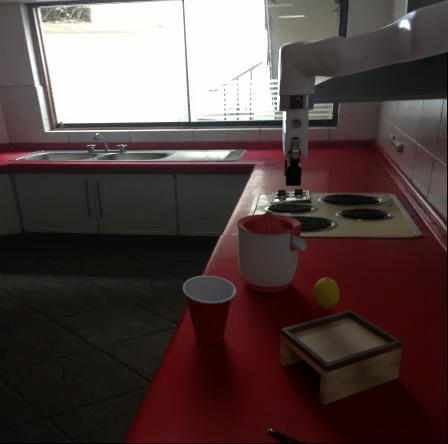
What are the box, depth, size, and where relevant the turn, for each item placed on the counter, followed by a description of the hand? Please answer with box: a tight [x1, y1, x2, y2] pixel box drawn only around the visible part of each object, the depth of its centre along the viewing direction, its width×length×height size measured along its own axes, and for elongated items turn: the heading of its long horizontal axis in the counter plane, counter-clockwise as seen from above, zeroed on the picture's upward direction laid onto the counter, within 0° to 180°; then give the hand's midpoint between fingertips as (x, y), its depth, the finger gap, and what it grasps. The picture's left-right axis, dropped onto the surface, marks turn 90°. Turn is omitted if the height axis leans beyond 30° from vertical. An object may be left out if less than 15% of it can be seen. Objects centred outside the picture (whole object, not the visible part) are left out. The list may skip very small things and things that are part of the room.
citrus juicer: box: [236, 210, 307, 294], centre depth 106 cm, size 16×17×20 cm
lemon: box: [312, 276, 340, 310], centre depth 95 cm, size 6×6×8 cm
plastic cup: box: [182, 275, 237, 346], centre depth 86 cm, size 11×11×12 cm
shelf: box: [279, 309, 404, 405], centre depth 75 cm, size 16×12×7 cm
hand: (292, 180), depth 96 cm, fingers open, 9 cm apart
